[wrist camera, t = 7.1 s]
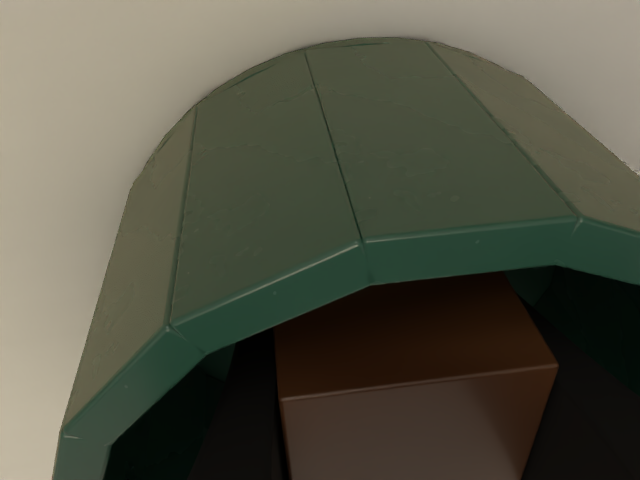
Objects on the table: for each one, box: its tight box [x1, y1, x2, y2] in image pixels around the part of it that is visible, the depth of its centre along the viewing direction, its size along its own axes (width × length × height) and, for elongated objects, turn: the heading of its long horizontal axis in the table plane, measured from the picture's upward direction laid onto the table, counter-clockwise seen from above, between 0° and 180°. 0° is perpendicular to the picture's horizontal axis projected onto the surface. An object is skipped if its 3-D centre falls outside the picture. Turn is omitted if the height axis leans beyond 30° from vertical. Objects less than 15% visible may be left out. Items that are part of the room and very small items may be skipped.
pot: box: [52, 38, 640, 480], centre depth 11 cm, size 10×10×6 cm
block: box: [273, 271, 559, 480], centre depth 10 cm, size 4×4×4 cm
